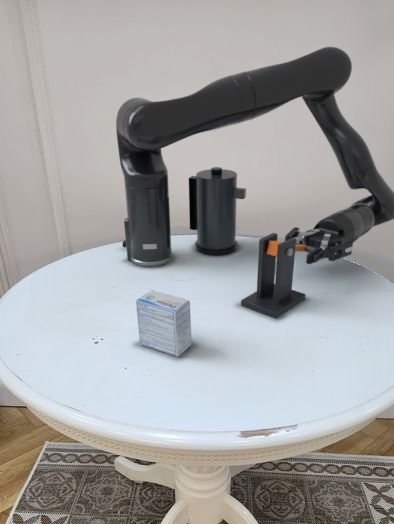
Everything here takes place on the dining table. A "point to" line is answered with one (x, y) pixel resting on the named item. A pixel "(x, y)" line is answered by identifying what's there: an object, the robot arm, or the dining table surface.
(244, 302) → the base
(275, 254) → the switch lever
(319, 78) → the robot arm
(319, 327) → the dining table surface
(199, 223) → the kettle
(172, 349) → the medicine box
